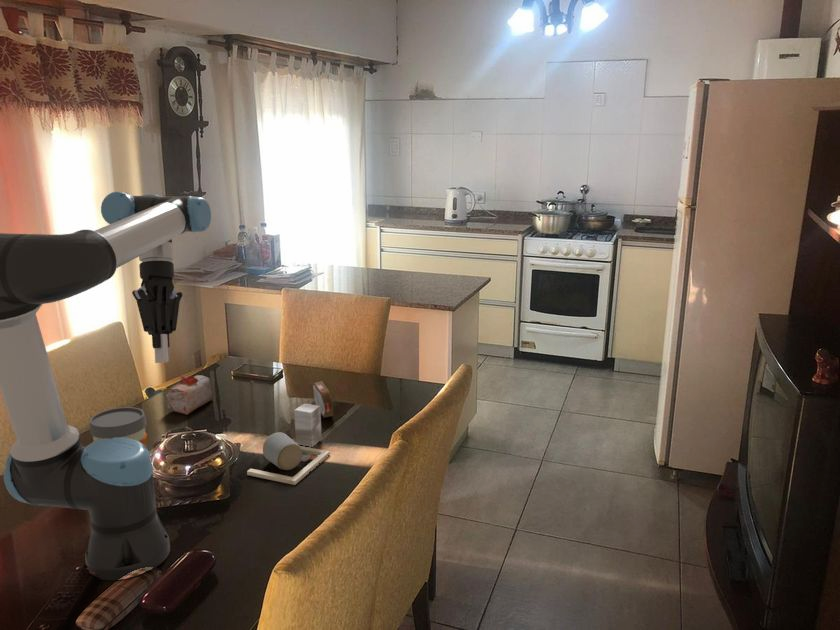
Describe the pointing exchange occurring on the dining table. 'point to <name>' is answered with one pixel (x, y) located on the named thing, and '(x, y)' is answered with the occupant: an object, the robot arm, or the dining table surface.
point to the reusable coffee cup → (119, 424)
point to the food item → (189, 394)
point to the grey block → (308, 425)
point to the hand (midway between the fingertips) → (162, 362)
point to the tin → (323, 399)
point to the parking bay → (299, 475)
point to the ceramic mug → (283, 451)
